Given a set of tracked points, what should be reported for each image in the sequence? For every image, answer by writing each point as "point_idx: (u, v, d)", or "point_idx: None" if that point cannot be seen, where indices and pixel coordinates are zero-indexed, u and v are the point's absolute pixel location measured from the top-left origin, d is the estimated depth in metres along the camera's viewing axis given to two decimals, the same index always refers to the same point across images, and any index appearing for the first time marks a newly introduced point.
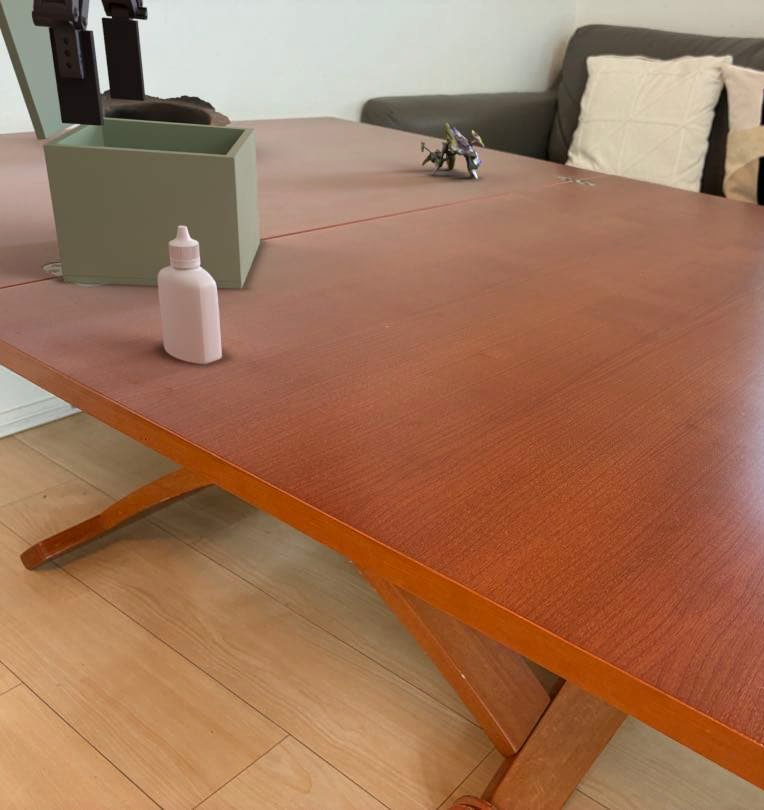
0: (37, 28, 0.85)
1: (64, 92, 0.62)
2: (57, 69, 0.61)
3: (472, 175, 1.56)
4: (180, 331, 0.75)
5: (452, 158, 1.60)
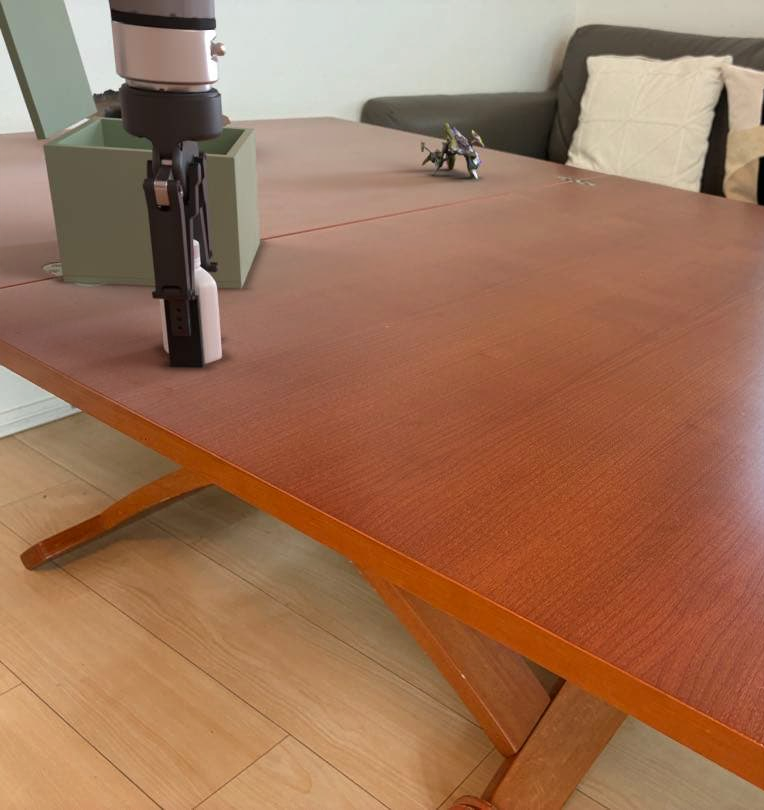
0: (37, 28, 0.85)
1: (173, 344, 0.74)
2: (168, 327, 0.73)
3: (472, 175, 1.56)
4: None
5: (452, 158, 1.60)
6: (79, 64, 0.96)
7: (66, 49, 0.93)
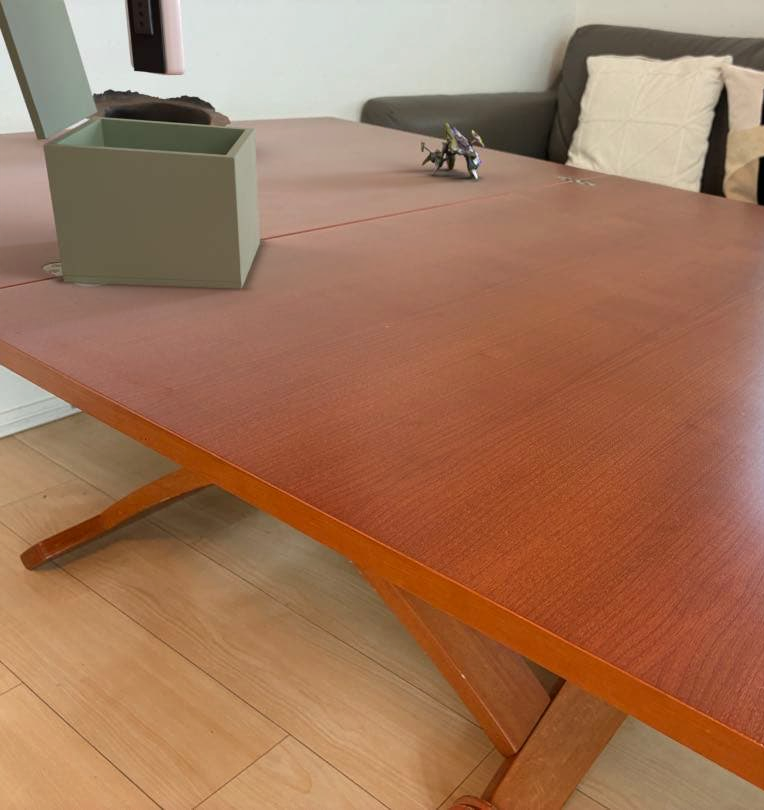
0: (37, 28, 0.85)
1: (136, 46, 0.78)
2: (132, 27, 0.77)
3: (472, 175, 1.56)
4: None
5: (452, 158, 1.60)
6: (79, 64, 0.96)
7: (66, 49, 0.93)
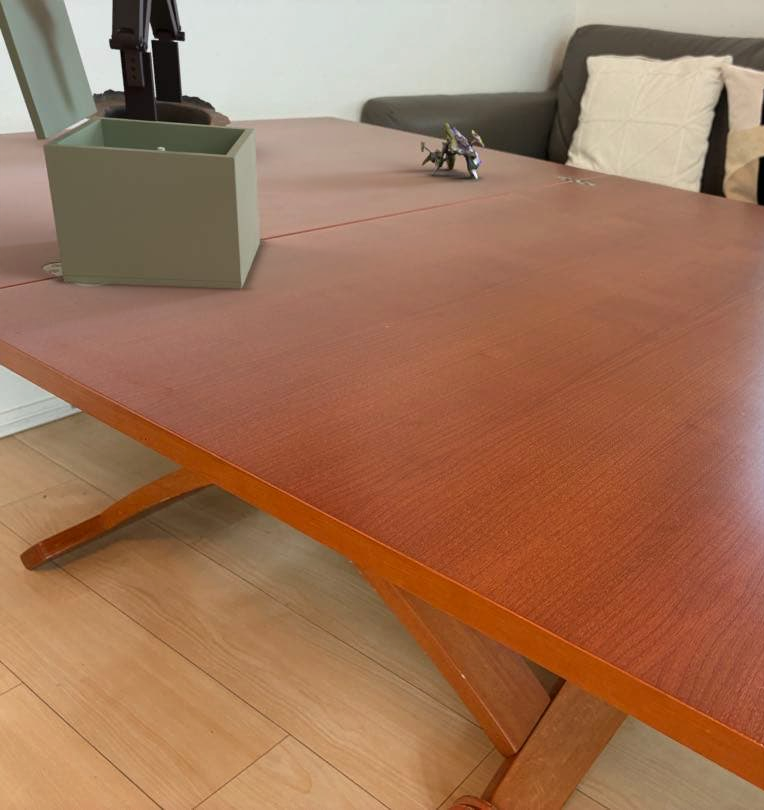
0: (37, 28, 0.85)
1: (129, 97, 0.85)
2: (125, 80, 0.84)
3: (472, 175, 1.56)
4: None
5: (452, 158, 1.60)
6: (79, 64, 0.96)
7: (66, 49, 0.93)
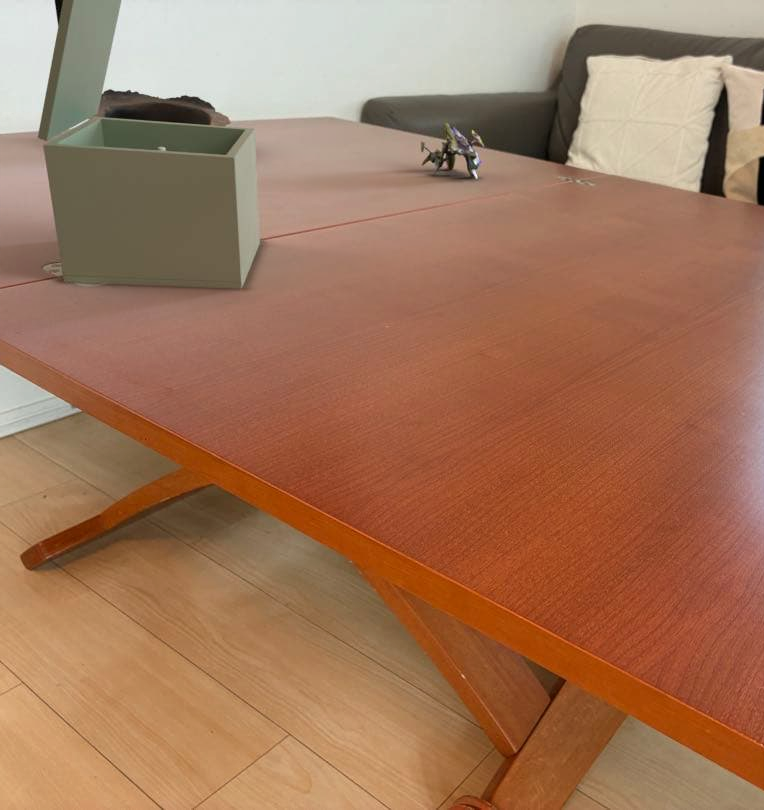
0: (87, 38, 0.87)
1: None
2: None
3: (472, 175, 1.56)
4: None
5: (452, 158, 1.60)
6: (104, 70, 0.96)
7: (100, 57, 0.93)
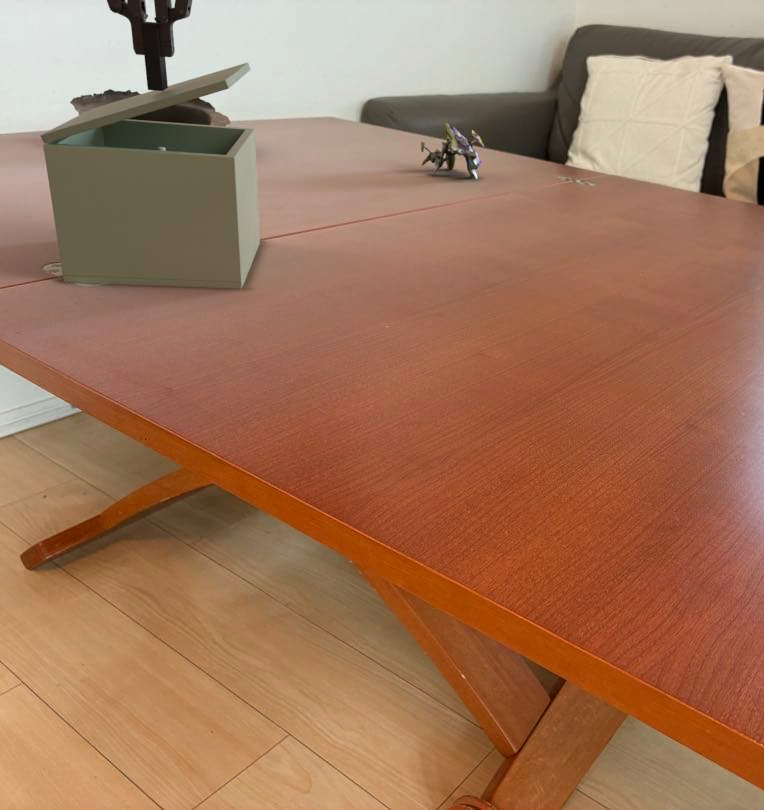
0: None
1: None
2: None
3: (472, 175, 1.56)
4: None
5: (452, 158, 1.60)
6: None
7: None
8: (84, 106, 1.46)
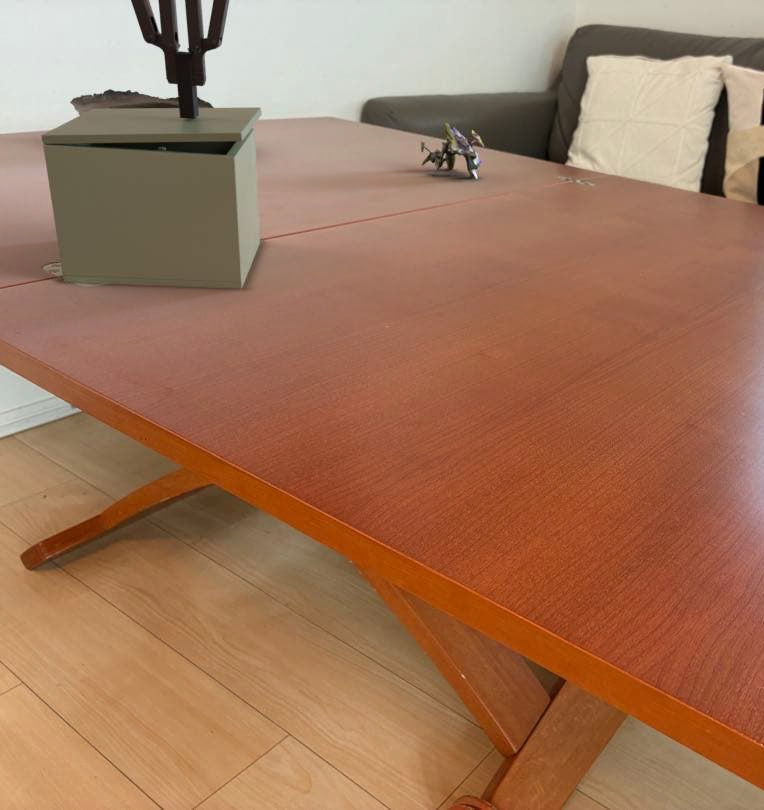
0: None
1: None
2: None
3: (472, 175, 1.56)
4: None
5: (452, 158, 1.60)
6: None
7: None
8: (84, 106, 1.46)
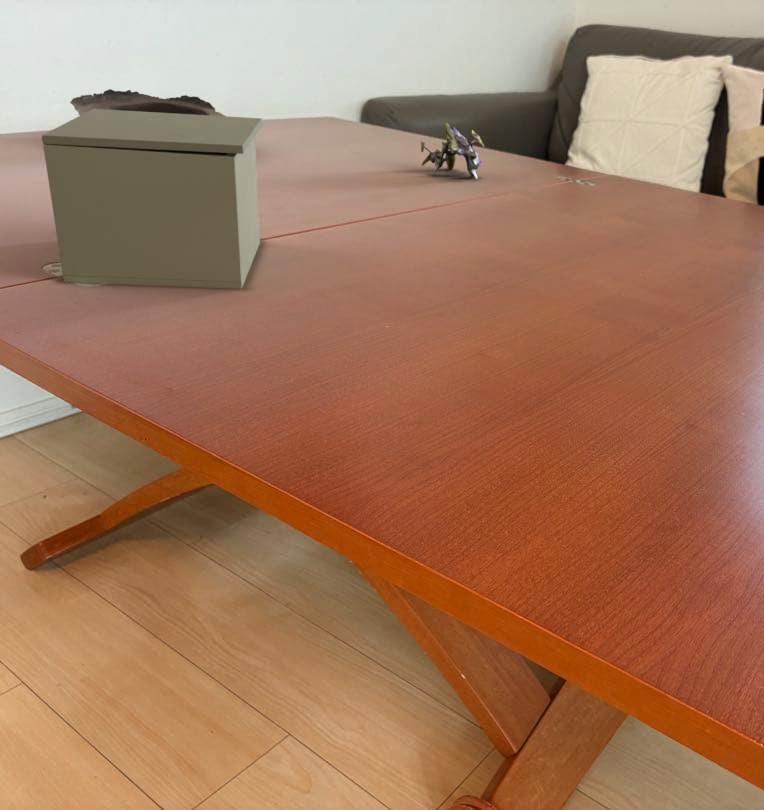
0: None
1: None
2: None
3: (472, 175, 1.56)
4: None
5: (452, 158, 1.60)
6: None
7: None
8: (84, 106, 1.46)
